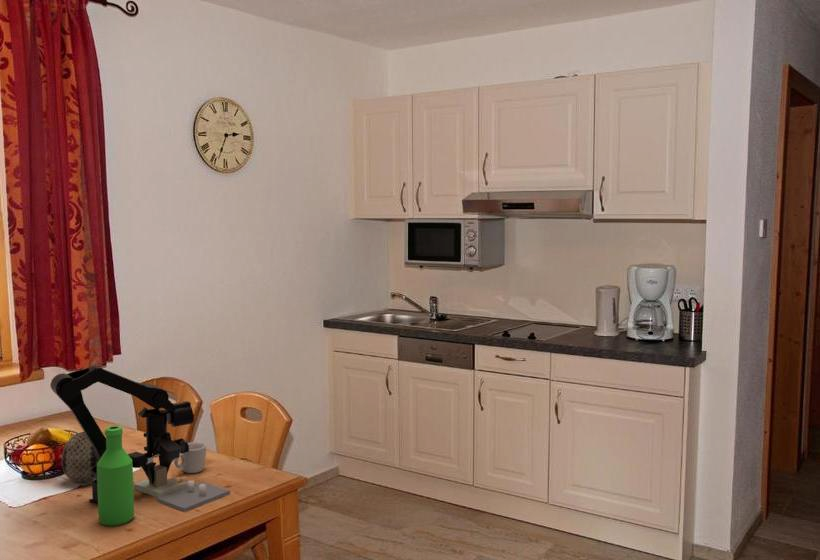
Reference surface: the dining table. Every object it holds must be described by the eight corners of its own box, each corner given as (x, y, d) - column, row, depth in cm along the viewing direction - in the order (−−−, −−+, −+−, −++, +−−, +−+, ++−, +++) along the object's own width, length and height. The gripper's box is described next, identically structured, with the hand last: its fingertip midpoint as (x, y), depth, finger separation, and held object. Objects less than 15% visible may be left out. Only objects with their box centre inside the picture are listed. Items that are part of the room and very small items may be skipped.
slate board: (184, 511, 206) (184, 497, 206) (156, 501, 213) (156, 487, 212) (230, 493, 219) (229, 480, 219) (202, 484, 226) (202, 471, 225)
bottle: (112, 530, 194) (109, 434, 192) (91, 522, 199) (88, 429, 196) (141, 518, 202) (138, 426, 199) (120, 511, 206) (117, 421, 204)
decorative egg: (54, 482, 227) (52, 433, 226) (91, 471, 236) (89, 424, 235) (75, 491, 220) (73, 441, 218) (112, 480, 229) (111, 431, 228)
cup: (183, 479, 230) (182, 454, 229) (167, 474, 235) (166, 448, 234) (212, 469, 239) (211, 445, 238) (196, 464, 243) (195, 440, 243)
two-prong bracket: (159, 498, 215) (158, 475, 215) (133, 489, 222) (133, 467, 222) (188, 487, 223) (187, 466, 223) (162, 479, 230) (162, 457, 230)
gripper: (146, 442, 208) (147, 497, 210) (200, 426, 223) (201, 478, 225) (121, 435, 214) (123, 489, 216) (176, 420, 230) (177, 470, 231)
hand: (158, 481), depth 222 cm, fingers closed on two-prong bracket, 4 cm apart
